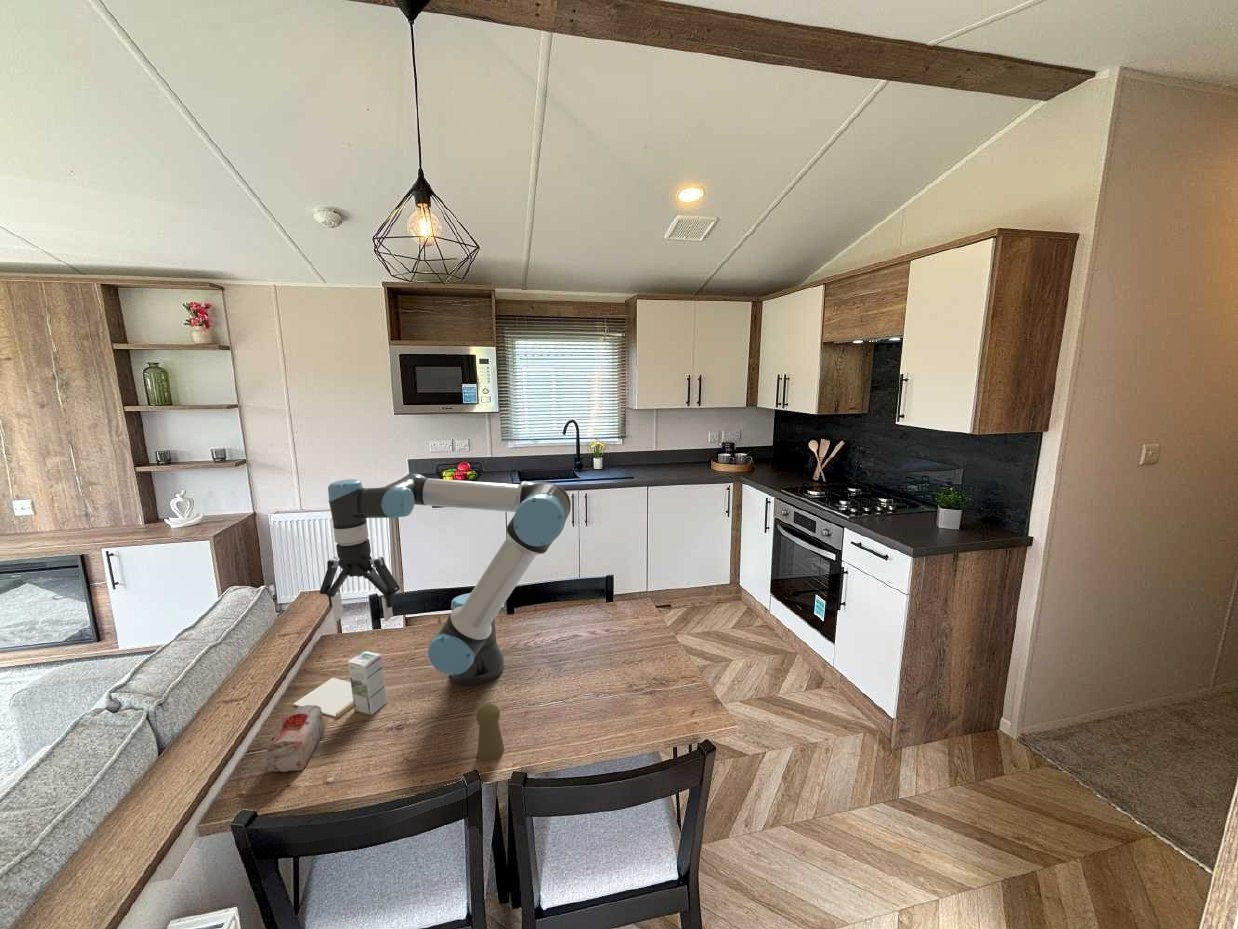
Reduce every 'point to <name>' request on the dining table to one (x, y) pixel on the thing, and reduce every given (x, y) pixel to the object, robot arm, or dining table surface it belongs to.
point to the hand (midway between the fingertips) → (363, 618)
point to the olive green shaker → (489, 733)
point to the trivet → (330, 698)
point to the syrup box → (367, 682)
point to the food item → (295, 739)
